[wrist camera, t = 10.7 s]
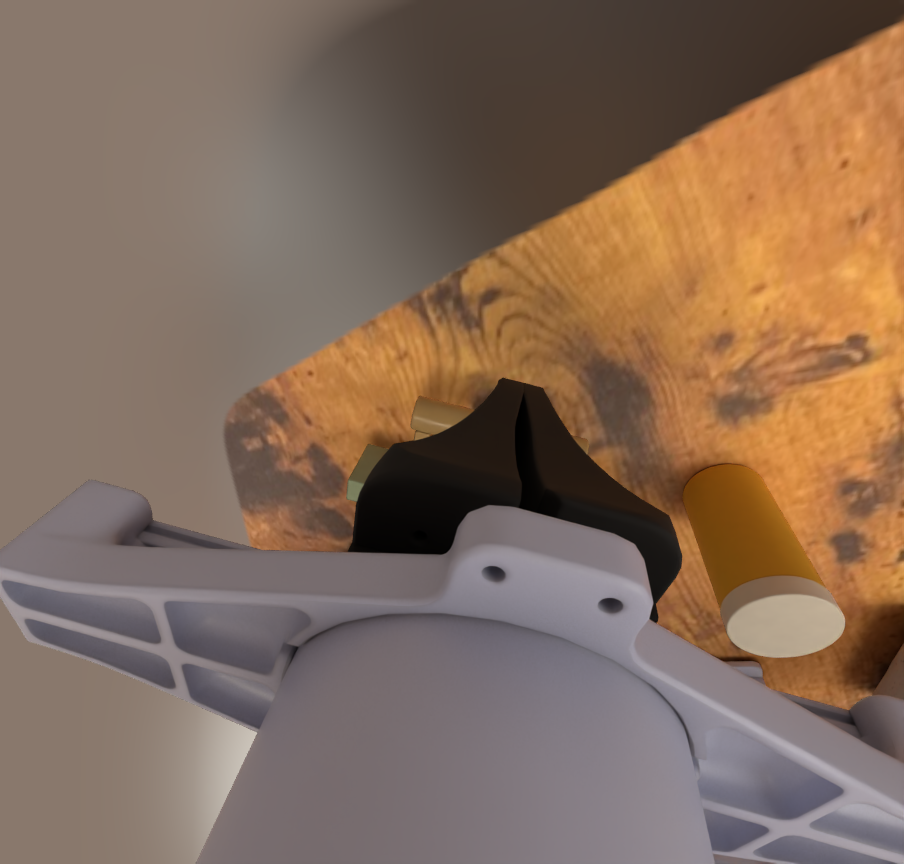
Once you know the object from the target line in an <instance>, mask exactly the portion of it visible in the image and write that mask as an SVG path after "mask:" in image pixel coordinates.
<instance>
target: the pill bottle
mask: <svg viewBox="0 0 904 864" xmlns="http://www.w3.org/2000/svg"><path fill="white" fill-rule="evenodd" d="M683 503H684V506H685V509H686V512H687V514H688V517H689V520H690V523H691V526H692V529H693V532H694V535H695V538H696V541H697V543H698V546H699V549H700V552H701V555H702V558H703V561H704V564H705V567H706V570H707V573H708V575H709V578H710V581H711V584H712V587H713V590H714V593H715V596H716V599H717V602H718V604H719V607H720V614H721V618H722V621H723V624H724V627H725V629H726V632H727V635H728V637H729V638H730V640H731V641H732V642H733V643H734V644H735V645H736V646H738V647H739V648H741V649H742V650H744V651H747V652H749V653H752V654H755V655H759V656H765V657H774V658H786V657H797V656H802V655H807V654H810V653H814V652H817V651H819V650H821V649H824V648H826V647H827V646H829V645H831V644H832V643H833V642H835V641H836V640H837V639H838V638H839V637H840V636H841V634H842V633H843V631H844V628H845V618H844V615H843V613H842V611H841V609H840V608H839V606H838V604H837V602H836V601H835V599H834V597H833V596H832V594H831V593H830V592H829V590H827V589H826V587H825V585H824V584H823V582H822V580H821V579H820V577H819V575H818V573H817V572H816V570H815V568H814V567H813V565H812V563H811V561H810V560H809V558H808V556H807V555H806V553H805V551H804V549H803V548H802V546H801V544H800V543H799V541H798V539H797V537H796V536H795V534H794V532H793V531H792V529H791V527H790V525H789V524H788V522H787V520H786V519H785V517H784V515H783V513H782V512H781V510H780V508H779V507H778V505H777V503H776V502H775V500H774V498H773V496H772V495H771V493H770V491H769V490H768V488H767V486H766V484H765V483H764V481H763V479H762V478H761V477H760V475H759V474H758V473H756V472H755V471H753V470H752V469H750V468H747V467H744V466H741V465H734V464H724V465H717V466H713V467H710V468H707V469H705V470H703V471H701V472H699V473H697V474H696V475H695V476H693V477H692V478H691V479H690V480H689V482H688V483H687V484H686V486H685V488H684V491H683Z"/></svg>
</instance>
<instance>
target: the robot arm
mask: <svg viewBox="0 0 904 864" xmlns="http://www.w3.org/2000/svg"><path fill="white" fill-rule="evenodd" d="M681 564H682V553H681V550H680V547H679V543H678V539H677V536H676V532H675V529H674V527H673V524H672V522H671V519H670V517H669V515H667V514H666V513H664V512H662V511H660V510H659V509H657V508H655V507H654V506H652V505H650V504H649V503H647V502H645V501H643V500H642V499H640V498H639V497H637V496H636V495H634V494H633V493H631V492H630V491H629V490H627V489H626V488H624V487H623V486H622V485H620V484H619V483H618V482H617V481H615V480H614V479H613V478H612V477H610V476H609V475H608V474H607V473H606V472H605V471H604V470H602V469H601V468H600V467H599V466H598V465H597V464H596V463H595V462H594V461H593V460H592V459H591V458H590V457H589V456H588V455H587V454H586V453H585V451H584V450H583V449H582V448H581V447H580V446H579V445H578V443H577V442H576V441H575V440H574V438H573V437H572V436H571V434H570V433H569V432H568V430H567V429H566V427H565V426H564V424H563V423H562V421H561V420H560V418H559V416H558V415H557V413H556V411H555V410H554V408H553V406H552V404H551V402H550V400H549V399H548V397H547V395H546V393H545V391H544V389H543V388H541V387H537V386H533V385H530V384H526V383H522V382H518V381H514V380H510V379H506V378H502V379H500V380H499V381H498V384H497V386H496V387H495V389H494V390H493V391H492V393H491V394H490V395H489V396H488V397H487V399H486V400H485V401H484V402H483V403H482V404H481V405H480V406H479V407H478V408H476V409H475V410H474V411H473V412H472V413H471V414H469V415H468V416H467V417H466V418H464V419H463V420H461V421H460V422H458V423H457V424H455V425H453V426H452V427H450V428H448V429H446V430H444V431H442V432H440V433H438V434H435V435H432V436H429V437H426V438H423V439H419V440H414V441H409V442H403V443H396V444H394V445H392V446H391V448H390V449H389V450H388V451H387V452H386V453H385V454H384V455H383V456H382V458H381V459H380V460H379V461H378V463H377V464H376V465H375V467H374V468H373V469H372V471H371V472H370V474H369V475H368V477H367V479H366V481H365V483H364V485H363V487H362V489H361V491H360V493H359V496H358V499H357V503H356V511H355V521H354V531H353V540H352V544H351V547H350V549H349V551H348V552H319V551H281V550H260V549H256V548H253V547H249V546H245V545H241V544H238V543H234V542H231V541H227V540H223V539H220V538H216V537H212V536H209V535H205V534H201V533H198V532H194V531H190V530H187V529H183V528H179V527H176V526H172V525H168V524H165V523H161V522H157V521H154V520H153V518H152V510H151V507H150V504H149V502H148V500H147V499H146V498H145V497H144V496H142V495H141V494H139V493H137V492H135V491H133V490H128V489H125V488H121V487H118V486H114V485H110V484H107V483H103V482H99V481H96V480H88V481H86V482H85V483H84V484H83V485H81V486H80V487H79V488H78V489H76V490H75V491H74V492H73V493H71V494H70V495H69V496H68V497H66V498H65V499H64V500H62V501H61V502H60V503H59V504H58V505H56V506H55V507H54V508H52V509H51V510H50V511H49V512H47V513H46V514H45V515H44V516H42V517H41V518H40V519H38V520H37V521H36V522H35V523H34V524H32V525H31V526H30V527H29V528H27V529H26V530H25V531H23V532H22V533H21V534H20V535H18V536H17V537H16V538H15V539H13V540H12V541H11V542H10V543H8V544H7V545H6V546H4V547H3V548H2V549H1V550H0V598H1V599H2V601H3V603H4V604H5V606H6V607H7V609H8V610H9V612H10V614H11V615H12V617H13V618H14V620H15V622H16V623H17V625H18V626H19V628H20V630H21V631H22V633H23V634H24V636H25V638H26V639H27V640H28V641H29V642H32V643H36V644H39V645H42V646H45V647H49V648H52V649H55V650H58V651H62V652H65V653H68V654H71V655H74V656H77V657H80V658H83V659H85V660H88V661H91V662H93V663H96V664H99V665H102V666H104V667H107V668H110V669H112V670H115V671H117V672H119V673H122V674H124V675H127V676H129V677H132V678H134V679H137V680H139V681H141V682H144V683H146V684H148V685H151V686H153V687H155V688H157V689H160V690H162V691H164V692H166V693H169V694H171V695H173V696H175V697H178V698H180V699H182V700H185V701H187V702H189V703H191V704H194V705H196V706H198V707H201V708H203V709H205V710H207V711H210V712H212V713H214V714H217V715H219V716H221V717H223V718H226V719H228V720H230V721H232V722H235V723H237V724H239V725H242V726H244V727H246V728H248V729H251V730H253V731H256V732H257V735H256V737H255V739H254V741H253V744H252V746H251V748H250V750H249V752H248V754H247V756H246V758H245V760H244V762H243V765H242V767H241V769H240V771H239V773H238V775H237V777H236V779H235V781H234V784H233V786H232V788H231V790H230V792H229V794H228V796H227V798H226V801H225V803H224V805H223V807H222V809H221V811H220V814H219V816H218V818H217V820H216V822H215V824H214V826H213V828H212V830H211V832H210V834H209V837H208V839H207V841H206V843H205V845H204V847H203V849H202V851H201V853H200V856H199V858H198V860H197V862H196V864H904V700H902V699H899V698H895V697H891V696H887V695H872V696H868V697H865V698H863V699H861V700H860V701H858V702H857V703H856V704H855V705H854V706H852V707H851V709H850V710H846V709H842V708H838V707H835V706H831V705H827V704H824V703H820V702H816V701H813V700H809V699H805V698H802V697H798V696H794V695H791V694H787V693H783V692H780V691H776V690H772V689H770V688H768V687H767V686H766V685H765V682H764V679H763V671H762V668H761V665H760V664H759V663H758V662H755V661H728V662H723V661H721V660H719V659H718V658H716V657H714V656H712V655H711V654H709V653H707V652H705V651H704V650H702V649H700V648H698V647H697V646H695V645H693V644H691V643H690V642H688V641H686V640H684V639H683V638H681V637H679V636H677V635H676V634H674V633H672V632H670V631H669V630H667V629H665V628H664V627H662V626H660V625H658V624H657V622H658V612H657V608H656V603H657V602H658V600H659V599H660V598H661V597H662V595H663V594H664V593H665V591H666V590H667V589H668V587H669V586H670V585H671V583H672V582H673V581H674V579H675V578H676V576H677V574H678V572H679V571H680V569H681Z"/></svg>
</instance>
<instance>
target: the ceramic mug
mask: <svg viewBox="0 0 904 864" xmlns="http://www.w3.org/2000/svg"><path fill="white" fill-rule="evenodd" d="M872 695H887V696H891V697H895V698H899V699H902V700H904V643H903V645H902V647H901V648H900V650H899V652H898V653H897V655H896V656H895V658H894V659H893V661H892V662H891V664H890V666H889V668H888V670H887V672H886V674H885V675H884V676H883V678H882V679H881V681H880V683H879V684H878V686H877V687H876V689H875V691H874V692H873V694H872Z"/></svg>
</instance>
